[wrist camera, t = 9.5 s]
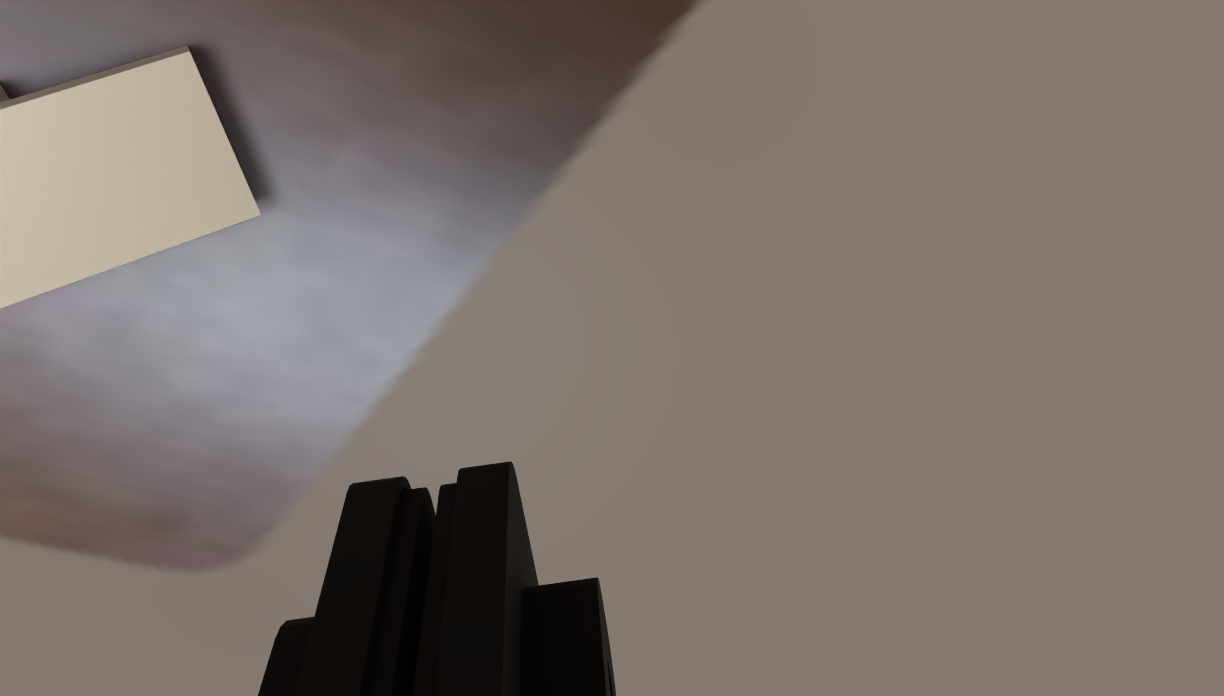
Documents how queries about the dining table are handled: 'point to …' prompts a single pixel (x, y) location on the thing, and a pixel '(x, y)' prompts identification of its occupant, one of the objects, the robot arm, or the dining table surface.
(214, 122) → the tile
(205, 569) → the dining table surface
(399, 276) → the dining table surface
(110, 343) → the dining table surface
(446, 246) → the dining table surface
